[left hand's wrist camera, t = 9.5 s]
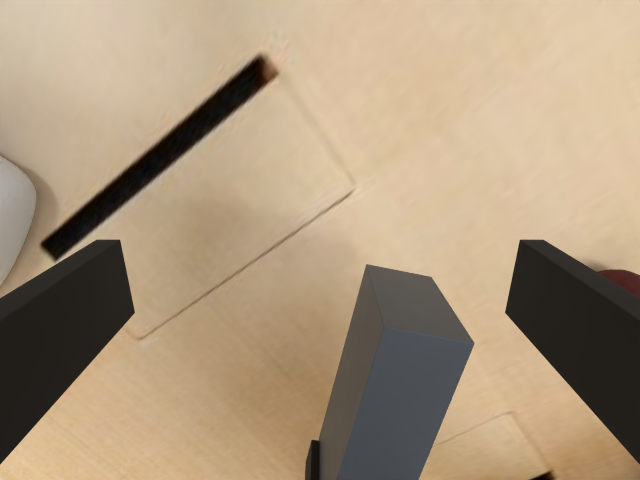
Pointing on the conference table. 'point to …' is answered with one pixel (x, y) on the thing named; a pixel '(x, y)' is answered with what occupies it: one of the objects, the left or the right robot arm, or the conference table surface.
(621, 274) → the dark red ball
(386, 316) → the bar
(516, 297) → the left robot arm
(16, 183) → the projector
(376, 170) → the conference table surface
